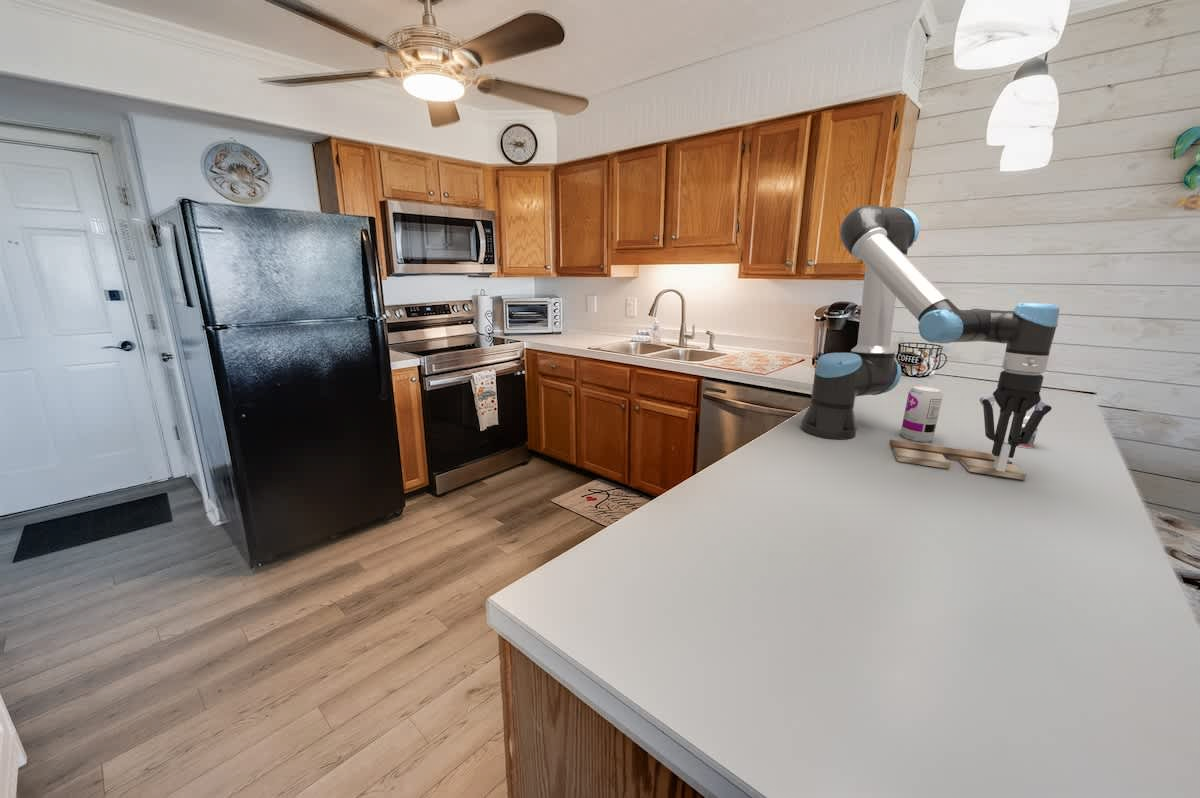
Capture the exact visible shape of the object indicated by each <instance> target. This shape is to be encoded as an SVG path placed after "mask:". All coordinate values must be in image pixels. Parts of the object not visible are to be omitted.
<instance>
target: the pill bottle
mask: <svg viewBox="0 0 1200 798" xmlns="http://www.w3.org/2000/svg"><path fill="white" fill-rule="evenodd" d="M1030 416H1031V415H1026V416H1025V418H1024V420H1023V424H1022V428H1021V432H1022V430H1023V428H1024V427H1025V425H1026V423H1027V422H1028V420H1029V418H1030ZM1038 429H1039V426H1038V427H1037V428H1036V430H1035V432H1034V433H1033V435H1032V437H1031V438H1030V440H1029V442H1028V443H1027V444H1019V445H1018V446H1017V447H1018V448H1023V449H1032V448H1033V446H1034V443H1035V440H1036V435H1037V433H1038ZM1020 434H1021V433H1020Z"/></svg>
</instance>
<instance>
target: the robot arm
mask: <svg viewBox="0 0 1200 798" xmlns="http://www.w3.org/2000/svg"><path fill="white" fill-rule="evenodd" d="M919 235H920V222H919V220H918V217H917V216H916V215H915V214H914V213H913V212H912V211H910V210H909V209H904V208H903V207H898V206H896V207H893V206H892V207H891V206H880V205H873V204H872V205H871V204H867V205H866V204H865V205H862V206H858V207H856V208H854V209H853V210H851V211H850V212H849V213H848V214H847V215H846V216H845V217H844V219H843V220H842V222H841V225H840V230H839V236H840V241H841V243H842V245H843V246H844V248H845V249H846V251H847V252H848V253H849V254H850V256H852V257H853V259H856V260H861V261H862V262H863V263H864V264H865V269H864V271H865V272H864V278H863V286H862V287H863V288H862V296H861V297H862V298H861V308H860V315H859V316H860V317H859V326H858V334H857V336H858V337H857V344H856V346H854V347H852V349H850V352H829V353H825V354H822V355H820V356H819V357H818V359H817V360H816V366H815V369H814V377H813V383H812V389H811V390H812V392H811V397H810V398H811V399H810V404H809V406H808V408H807V410H806V411H805V414H804V415H803V417H802V419H801V424H800V429H802V431H804V432H805V433H808V434H810V435H812V436H813V435H814V436H816V437H820V438H824V439H832V440H833V439H834V440H848V439H853V438H854V437H856V434H857V423H856V418H855V412H854V407H855V402H856V397H863V396H877V395H878V396H879V395H882V394H885V393H888V392H890V391H892V390H893V389H895V388H896V386H897V385H898V384H899V382H900V380H901V378H902V367H901V364H900V363H899V361H898V359H896V358H895V356H896V351H895V350H894V349H893V348H892V347H891V339H892V330H893V323H894V316H895V315H894V314H895V306H896V298H897V299H898V300H899V302H900V303H901V304H902V305H903V306H904V307H905V308H906V309H907V310H908V311H909V313H910V314H912V316H914V318H915V319H916V320H917V321H918V325H917V326H918V328H917V329H918V332H919V336H920V337H921V338H922V339H923V340H925V341H927V342H929V343H932V344H933V343H935V344H950V343H967V342H968V343H969V342H971V343H972V342H985V343H987V342H988V343H996V344H997V343H999V344H1006V347H1005V351H1004V357H1003V361H1002V364H1001V368H1002V369H1003V370H1002V371H1000V374H999V377H998V381H997V386H996V387H997V388H996V389H995V391H993V393H992V395H991V396H987V397H980V398H979V402H980V404H981V406H982V407H983V409H982V410H983V419H984V434H985V437H986V438H988V440H991V441H992V442H993V446H992V449H991V454H993V455H994V456H996V457H995V461H994V466H993V467H994V468H995V469H996V470H997V471H1003V472H1005V469H1006V465H1007V461H1008V460H1009V459H1013V458H1014V455H1015V453H1016V448H1017V447H1018V445H1019V444H1027V443H1028V442H1029V440H1030V438H1031V437H1032V435H1033V433H1034V432H1035V430H1036V428H1037V427H1038V428H1039V425H1040V423H1041V421H1042V420H1043V418H1044V416H1045V415H1047V414H1048V413H1049V412H1050V411H1051V410H1052V406H1050V405H1048V404H1047V403H1044V402H1043V401H1042V398H1041V394H1040V392H1041V389H1042V386H1043V381H1044V376H1043V374H1044V373H1045V372H1046V369H1047V365H1048V360H1049V357H1050V352H1051V348H1052V344H1053V341H1054V336H1055V333H1056V330H1057V328H1058V325H1059V324H1058V321H1059V316H1060V315H1059V314H1060V310H1061V309H1060V307H1059V306H1058V305H1057V304H1056V303H1037V302H1019V303H1017V304H1016V305H1015V308H1014V309H1013V310H995V309H986V308H985V309H983V308H963V309H959V308H958V307H957V306H956V305H955V304H954V303H953V302H952V301H951V300H950V299H949V298H948V297H947V296H946V295H945V294H944V293H943V292H942V290H940V289H939V288H938V287H937V286H936V285H935V284H934V283H933V282H932V281H931V280H930V279H929V278H928V277H927V276H926V275H925V274H924V273H923V272H922V271H921V270H920V269H919V268H918V267H917V266H916V265H915V264H914V263H913V262H912V261H911V260H910V258H908V257H907V256H908V251H909V250H908V249H909V248H911V247H912V246H913V244H914V243H915V242H916V241H917V240H918V238H919ZM995 402H996V404H997V405H998V407H999V416H998V419H997V420H998V421H997V425H996V429H995V419H994V408H993V406H995ZM1033 408H1034V411H1033V412H1032V413H1031V415H1029V416H1030V418H1029V420H1028V422H1027V423H1026V425H1025V427H1024V428H1023V430H1022V432H1021V428H1022V424H1023V420H1024V418H1025V416H1027V412H1028V411H1029V410H1031V409H1033ZM1012 414H1013V416H1012ZM1011 417H1012V420H1011V424H1010V429H1009V433H1008V438H1007V441H1005V438H1006V435H1007V431H1008V426H1009V421H1010V419H1011ZM1020 433H1021V434H1020Z"/></svg>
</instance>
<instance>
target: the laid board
mask: <svg viewBox="0 0 1200 798" xmlns="http://www.w3.org/2000/svg"><path fill="white" fill-rule="evenodd" d="M889 446H890V448H891V451H892V452H893V449H894V447H896V448H902V449H909V450H916V451H923V452H930V453H937V454H942V455H943V456H944V457H945V459H946V460H952V461H959V462H960V457H964V458H971V459H978V460H985V461H992V462H994V461H995V457H996V456H994V455H993V454H992V453H989V452H983V451H975V450H969V449H968V450H967V449H961V448H953V447H948V446H939V445H932V444H926V443H925V444H924V443H918V442H912V441H905V440H897V439H890V441H889ZM1007 464H1012V465H1013V462H1012V461H1010V459H1008V461H1007Z"/></svg>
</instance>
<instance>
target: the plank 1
mask: <svg viewBox="0 0 1200 798" xmlns="http://www.w3.org/2000/svg"><path fill="white" fill-rule="evenodd" d="M892 452H893V455H894V456H895V458H896V460H897V462H902V463H909V464H915V465H919V466H920V465H922V466H927V467H928V466H929V467H934V468H940V469H941V468H942V469H947V470H949V469H950V466H951V462H949V461H948V459H945V457H944V456H943V455H942V454H937V453H930V452H923V451H916V450H909V449H902V448H896V447H894V449H893V451H892Z"/></svg>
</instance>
